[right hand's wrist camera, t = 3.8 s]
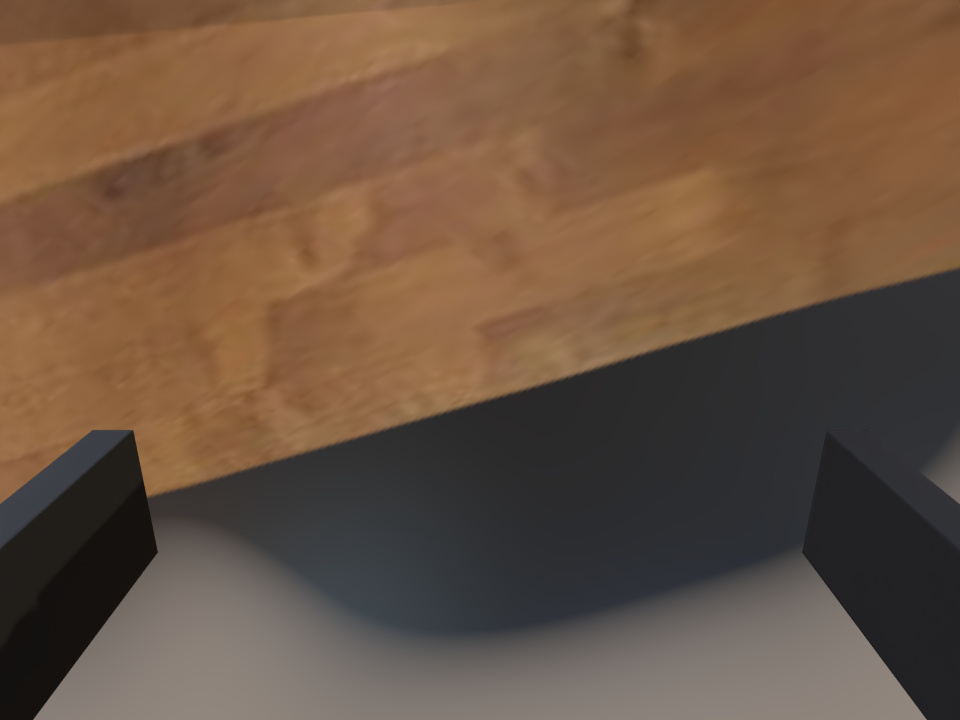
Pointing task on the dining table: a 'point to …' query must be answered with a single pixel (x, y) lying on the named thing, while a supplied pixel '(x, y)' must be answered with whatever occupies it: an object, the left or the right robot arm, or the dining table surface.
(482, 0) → the dining table surface
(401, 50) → the dining table surface
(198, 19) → the dining table surface
